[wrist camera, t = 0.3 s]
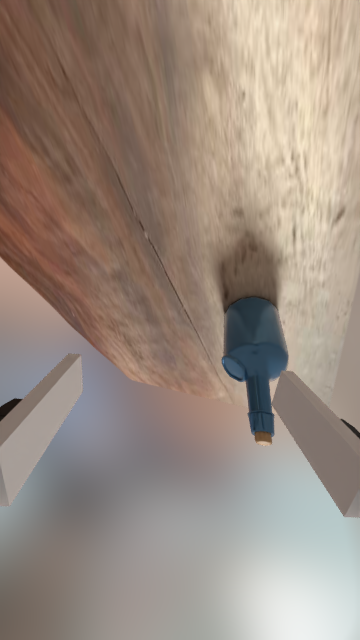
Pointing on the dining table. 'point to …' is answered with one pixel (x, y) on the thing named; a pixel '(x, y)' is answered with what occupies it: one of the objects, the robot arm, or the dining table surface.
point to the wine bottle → (255, 358)
